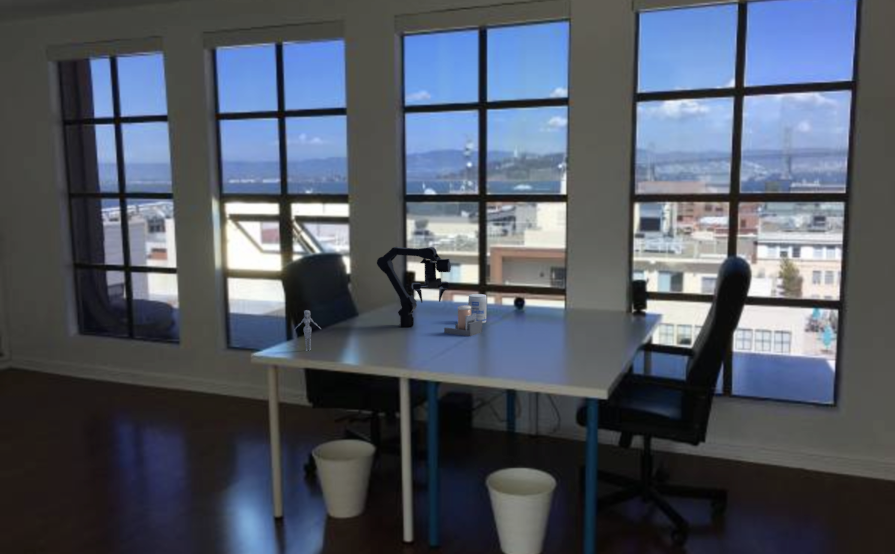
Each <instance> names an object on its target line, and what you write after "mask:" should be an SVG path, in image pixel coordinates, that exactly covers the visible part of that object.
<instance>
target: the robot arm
mask: <svg viewBox="0 0 895 554" xmlns="http://www.w3.org/2000/svg"><path fill="white" fill-rule="evenodd" d="M437 251H438V250H437V249H436V248H435V247H433V246H429V247H421V248H413V247H398V246H395V247H394V246H393V247H391V249H389V251H388V252H386V253H385V254H384V255H383V256H381V257H378V258H377V261H376V265H377V266H378V268H379V269H380V271H382V273H384V274H385V275H386V277H387V278H388V280H389V282H390V283H391V285H392V287H393V289H394V290H395V292H396V294H397V296H398V298H399V301H400V302H399V303H400V306H401V308H400V309H399V310H398V311H397V313H398V316H399V325H398V326H399V327H400V328H412V327H414V324H415V323H414V321H415V317H413V313H414V311H415V310H416V309H417V300H416V299H415V297H414V295H412V294H411V295H410V294H408V292H407V291H406V289H405V287H404V285H403V284H402V282H401V280H400V277H398V275H397V273H396V271H395V267H394V263H393V260H395V258H396V257H397V256H406V257H407V256H409V257H419V258H420V259H421V258H422V260H421V261H420V264H424V283H420V282H412V283H411V289H412V290H414V292H417V295H418V298H419V300H420V303H421V304H422V303H423V294H422V289H423V288H425V289H426V288H428V289H438V302H439V303H440V302H441V300H442V298H443V294H444V292H445V291H447V290H448V289H450V282H448V281H442V278H441V277H438V278H437V272H438V273H451V269H452V265H451V261H450V258H441V257H440V256H439V254H438V253H437ZM421 288H422V289H421Z"/></svg>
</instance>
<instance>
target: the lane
mask: <svg viewBox="0 0 895 554" xmlns="http://www.w3.org/2000/svg"><path fill="white" fill-rule="evenodd" d="M454 327H455V328H453V327H444V328H443V329H444V330H443V331H444V334H450V335H456V336H464V337H465V336H466V337H474V336H476V335H478V334H482V333H483V323H482V320H479V321H475V322H472V323H469V330H462V329H458V323H455V326H454Z"/></svg>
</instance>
